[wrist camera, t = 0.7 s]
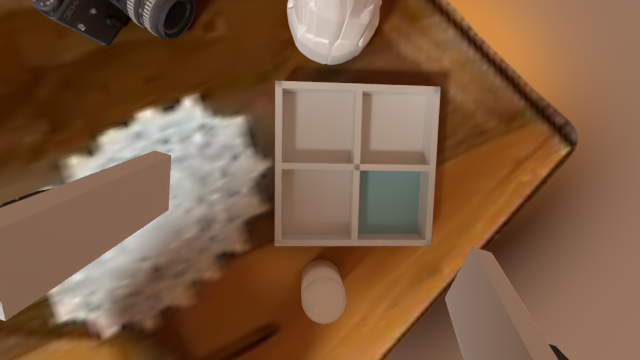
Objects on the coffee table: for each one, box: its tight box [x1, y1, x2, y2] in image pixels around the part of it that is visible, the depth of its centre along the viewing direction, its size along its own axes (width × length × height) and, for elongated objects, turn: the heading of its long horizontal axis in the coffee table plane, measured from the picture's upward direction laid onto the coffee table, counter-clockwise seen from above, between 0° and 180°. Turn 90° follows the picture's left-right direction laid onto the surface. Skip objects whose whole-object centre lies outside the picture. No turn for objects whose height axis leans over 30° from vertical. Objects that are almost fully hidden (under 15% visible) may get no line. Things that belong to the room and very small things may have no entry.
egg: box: [301, 259, 347, 324], centre depth 38 cm, size 6×6×9 cm
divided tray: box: [275, 81, 441, 246], centre depth 39 cm, size 20×20×4 cm
